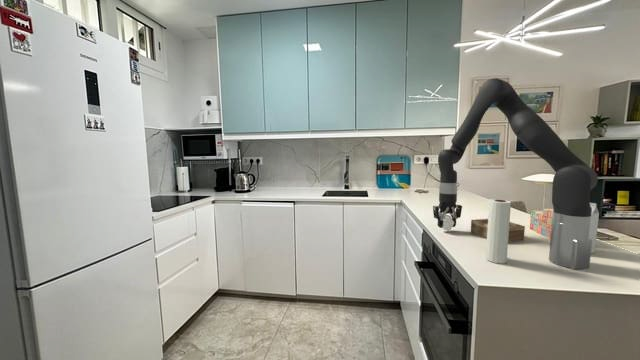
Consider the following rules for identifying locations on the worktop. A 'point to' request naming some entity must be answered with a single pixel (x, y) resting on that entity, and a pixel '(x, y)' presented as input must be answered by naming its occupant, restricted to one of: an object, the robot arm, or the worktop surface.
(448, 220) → the white ribbed cup
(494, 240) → the paper towel roll
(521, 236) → the wooden tray
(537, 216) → the stack of blocks
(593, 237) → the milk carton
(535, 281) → the worktop surface
